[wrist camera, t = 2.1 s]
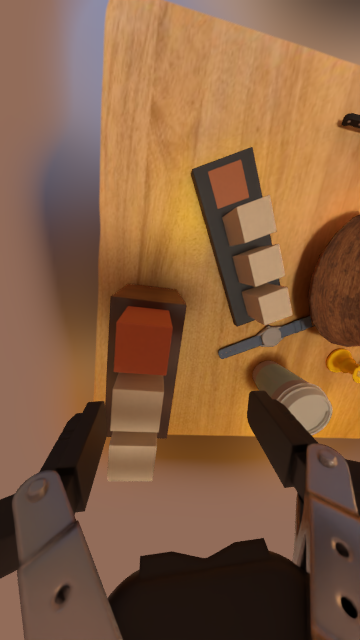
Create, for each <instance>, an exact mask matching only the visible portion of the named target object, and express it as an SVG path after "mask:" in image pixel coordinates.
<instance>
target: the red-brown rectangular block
mask: <svg viewBox="0 0 360 640" xmlns="http://www.w3.org/2000/svg"><path fill="white" fill-rule="evenodd" d="M172 330H173V327H172V322H171V318H170V313H169V310H160V309H151V308H142V307H133V306H128V307H127V308H126V309H125V311H124V312H123V314H122V315H121V317H120V318H119V319H118V321H117V323H116V340H115V357H114V372H120V373H135V374H149V375H164V376H166V374H167V367H168V359H169V352H170V344H171V337H172Z"/></svg>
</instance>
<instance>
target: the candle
mask: <svg viewBox="0 0 360 640" xmlns="http://www.w3.org/2000/svg"><path fill="white" fill-rule="evenodd" d="M326 365H327V368H328V369H329V370H330V371H332V372H341V371H342V372H343V373H350V374H352V378H353V380H354V381H355V382H356V383H360V365H359V364H356V361H355V360H354V359H353V358H352V356H351V353H350V352H349V351H348V350H346V349H336V350H334V351H333V352H331V353H330V355H329V356H328V358H327V360H326Z"/></svg>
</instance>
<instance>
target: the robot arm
mask: <svg viewBox="0 0 360 640" xmlns="http://www.w3.org/2000/svg"><path fill="white" fill-rule="evenodd" d="M247 418H248V423H249V425H250V427H251V429H252V431H253V433H254V434H255V436H256V438H257V440H258V441H259V443H260V445H261V447H262V449H263V450H264V452H265V454H266V455H267V457H268V459H269V461H270V463H271V465H272V466H273V468H274V470H275V472H276V473H277V475H278V477H279V479H280V480H281V482H282V484H283V486H284V487H285V488H286V487H295V489H296V490H297V492H298V493H297V499H296V500H297V501H296V521H295V542H294V553H293V560H292V561H290V560H289V559H287V558H285V557H283V556H281V555H279V554H277V553H274V552H271V551H268V549H267V546H266V543H265V540H264V538H261V539H254V540H248V541H240V542H235V543H233V544H231V545H230V546H227V547H226V548H224V549H222V550H221V551H219V552H217V553H215V554H214V555H212V556H210V557H208V558H199V557H195V556H190V555H186V554H181V553H176V552H167V553H159V554H153V555H145V556H140V570H138V571H136V572H134V573H133V574H131V575H130V576H129V577H127V578H126V579H125V580H124V581H123V582H121V584H119V585H118V586H117V587H116V589H115V590H114V591H113V592H112V593H111V594H110V596H109V597H108V598H107V596H106V593H105V590H104V588H103V585H102V582H101V580H100V577H99V574H98V572H97V569H96V566H95V564H94V561H93V558H92V556H91V553H90V550H89V548H88V545H87V542H86V540H85V537H84V534H83V532H82V529H81V527H80V524H79V522H78V521H76V519H75V516H74V515H75V512H82V511H85V508H86V505H87V501H88V498H89V495H90V491H91V488H92V484H93V481H94V478H95V474H96V471H97V467H98V464H99V460H100V457H101V454H102V450H103V447H104V444H105V440H106V436H107V419H106V411H105V404H104V401H98V402H88V403H87V405H86V407H85V409H84V411H83V413H77V414H75V416H73V417H72V418H71V419H70V420H69V421H68V422H67V424H66V426H65V428H64V429H63V432H62V433H61V435H60V436H59V438H58V440H57V442H56V443H55V445H54V447H53V449H52V451H51V452H50V454H49V456H48V458H47V459H46V461H45V463H44V465H43V467H42V468H41V470H40V472H39V473H37V474H35V475H33V476H32V477H30V478H29V479H28V480H26V481H25V482H24V483H23V484H22V485H21V486H20V487H19V489H18V490H17V491H16V493H15V494H13V495H11V496H8V497H6V498H3V499H1V500H0V578H2V577H4V576H6V575H8V574H10V573H12V572H14V571H16V570H17V576H18V586H19V595H20V604H21V613H22V621H23V630H24V638H25V640H360V462H356V461H351V460H346V459H345V458H344V457H343V456H342V455H341V454H340V453H338V452H337V451H336V450H334V449H332V448H331V447H329V446H326V445H323V444H319V443H318V442H317V441H316V440H315V439H314V438H313V437H312V436H311V434H310V433H309V432H308V431H307V430H306V429H305V428H304V427H303V425H302V424H301V423H300V422H299V421H298V420H297V419H296V418H295V416H294V415H293V414H291V412H290V411H289V410H288V409H287V407H286V406H285V405H284V404H282V403H281V402H279V401H277V400H276V399H272V398H271V397H270V396H269V395H268V394H267V392H266V391H264V390H261V391H251V392H250V394H249V402H248V411H247Z"/></svg>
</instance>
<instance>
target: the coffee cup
mask: <svg viewBox="0 0 360 640" xmlns="http://www.w3.org/2000/svg"><path fill="white" fill-rule="evenodd" d="M253 380H254V382H255V384H256V385H257V387H258V389H259V391H261V390H264V391H266V392H267V394H268V395H269V396H270V397H271V398H272V399H276V400H277V401H279V402H281V403H282V404H284V405H285V406H286V407H287V409H288V410H289V411H290V412H291V414H293V415H294V416H295V418H296V419H297V420H298V421H299V422H300V423H301V424H302V425H303V427H304V428H305V429H306V430H307V431H308V432H309V433H310V434H311V435H314V434H316V433H318V432H319V431H321V430H322V429H323V428H324V427H325V426H326V425H327V424H328V422H329V420H330V418H331V416H332V405H331V403H330V401H329V400H328V398H327V396H326V394H325V393H324V392H323V391H322V389H321V388H319V387H318V386H316V385H314V384H310V383H308V382H306V381H305V380H303V379H302V378H300V377H298V376H297V375H295V374H294V373H292V372H290V371H289V370H287V369H285V368H284V367H282V366H281V365H279V364H277V363H276V362H274V361H264V362H261V363H260V364H258V365H257V366H256V367H255V369H254V371H253Z"/></svg>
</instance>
